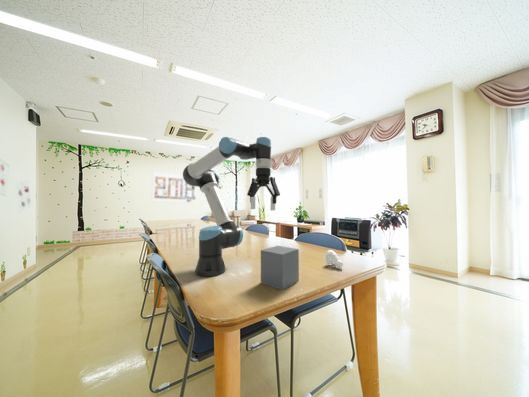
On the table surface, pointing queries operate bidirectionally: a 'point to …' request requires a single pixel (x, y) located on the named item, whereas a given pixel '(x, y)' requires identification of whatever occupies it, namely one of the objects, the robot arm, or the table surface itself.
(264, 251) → the grey chamfered box
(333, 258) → the white figurine
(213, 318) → the table surface
